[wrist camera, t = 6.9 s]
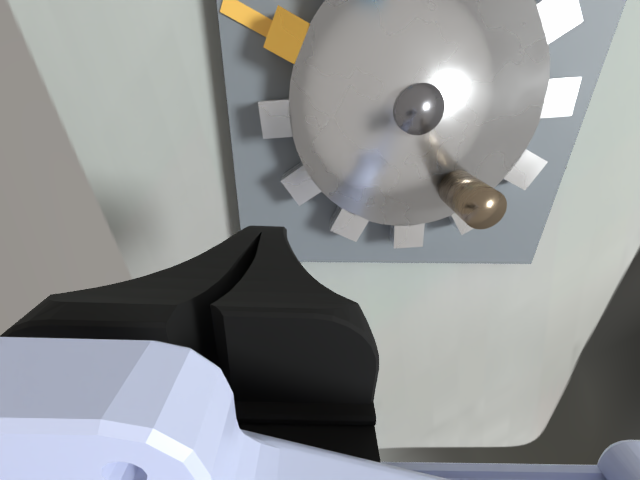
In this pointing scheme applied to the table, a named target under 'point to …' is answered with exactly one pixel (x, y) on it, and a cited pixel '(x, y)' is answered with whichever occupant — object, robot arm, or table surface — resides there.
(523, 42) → the sprocket
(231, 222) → the table surface
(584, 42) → the base plate
